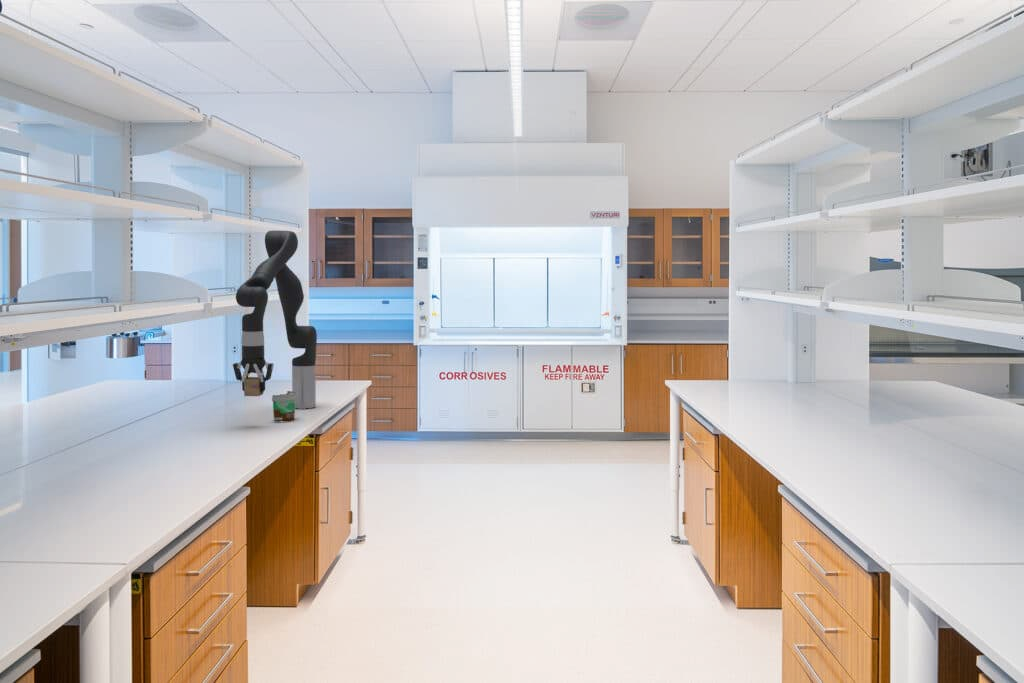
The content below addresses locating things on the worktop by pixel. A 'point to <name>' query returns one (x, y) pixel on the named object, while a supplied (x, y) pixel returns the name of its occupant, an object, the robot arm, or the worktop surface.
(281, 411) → the food container
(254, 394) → the walnut block
